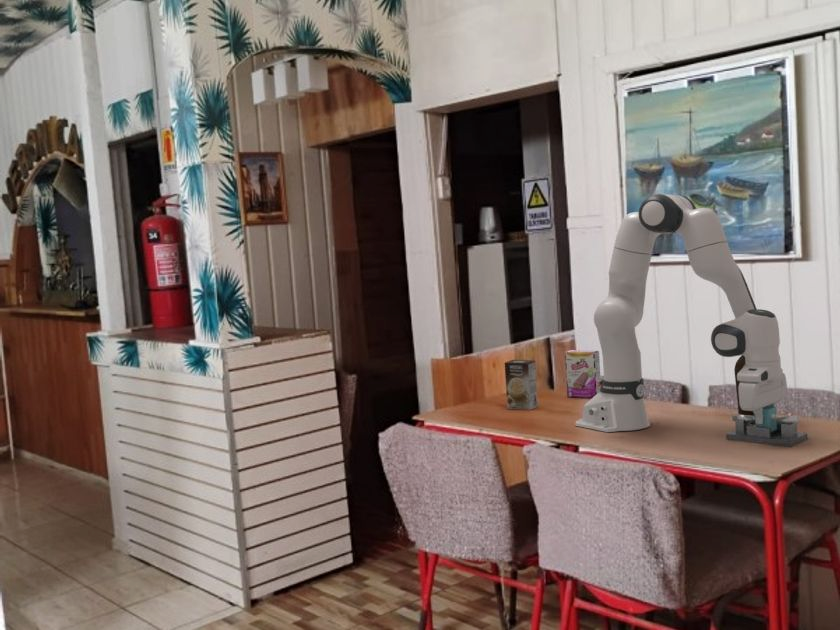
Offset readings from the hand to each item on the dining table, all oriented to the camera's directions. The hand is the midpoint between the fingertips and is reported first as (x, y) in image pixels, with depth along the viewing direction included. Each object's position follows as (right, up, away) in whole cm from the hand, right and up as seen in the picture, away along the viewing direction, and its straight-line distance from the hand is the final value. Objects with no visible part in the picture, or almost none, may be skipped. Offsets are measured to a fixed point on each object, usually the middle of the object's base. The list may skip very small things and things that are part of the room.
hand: (765, 421), depth 252 cm
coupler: (0, -2, 0) cm, 2 cm away
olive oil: (+5, -3, +21) cm, 22 cm away
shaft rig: (0, -5, 0) cm, 5 cm away
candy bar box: (-35, -1, +78) cm, 86 cm away
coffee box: (-58, -3, +68) cm, 89 cm away
